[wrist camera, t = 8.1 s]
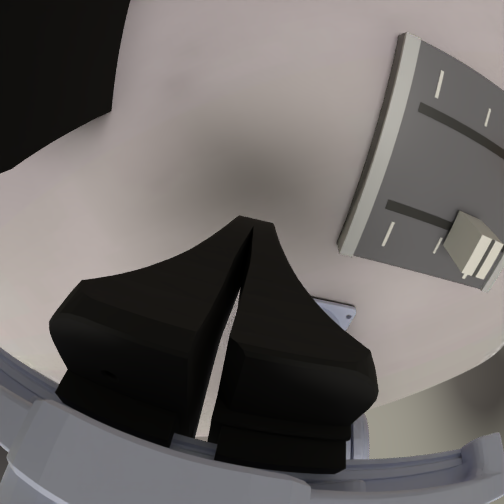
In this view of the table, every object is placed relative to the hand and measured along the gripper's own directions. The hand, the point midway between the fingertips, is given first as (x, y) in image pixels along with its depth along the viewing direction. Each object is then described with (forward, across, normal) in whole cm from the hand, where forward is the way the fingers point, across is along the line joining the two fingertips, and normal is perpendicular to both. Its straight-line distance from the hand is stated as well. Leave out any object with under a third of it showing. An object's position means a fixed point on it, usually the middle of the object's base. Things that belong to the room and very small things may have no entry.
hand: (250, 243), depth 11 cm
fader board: (+10, -14, -4) cm, 18 cm away
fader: (+8, -15, 0) cm, 17 cm away
